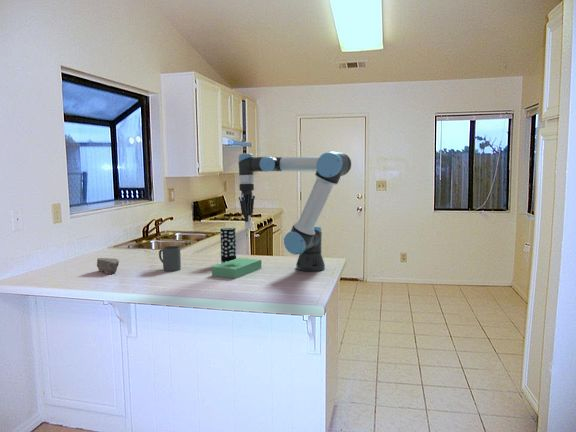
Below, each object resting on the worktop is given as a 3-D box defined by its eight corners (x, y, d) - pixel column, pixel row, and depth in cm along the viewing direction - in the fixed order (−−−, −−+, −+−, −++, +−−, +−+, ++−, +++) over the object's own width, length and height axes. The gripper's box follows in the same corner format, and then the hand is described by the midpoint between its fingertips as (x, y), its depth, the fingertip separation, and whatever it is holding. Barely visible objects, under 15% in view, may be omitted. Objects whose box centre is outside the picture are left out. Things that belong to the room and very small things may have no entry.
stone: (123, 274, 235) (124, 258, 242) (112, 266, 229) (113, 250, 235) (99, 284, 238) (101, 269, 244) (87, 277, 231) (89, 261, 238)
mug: (184, 268, 245) (183, 246, 244) (172, 272, 237) (171, 249, 236) (165, 266, 252) (165, 244, 251) (153, 269, 244) (152, 247, 243)
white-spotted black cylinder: (233, 266, 251) (232, 229, 249) (219, 265, 253) (218, 229, 251) (238, 262, 259) (237, 227, 257) (224, 262, 261) (223, 227, 259)
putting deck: (261, 268, 245) (261, 259, 244) (235, 278, 223) (235, 269, 222) (239, 266, 251) (239, 257, 251) (212, 275, 229) (211, 266, 228)
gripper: (246, 182, 248) (248, 226, 251) (233, 183, 237) (235, 229, 239) (258, 182, 245) (260, 226, 247) (246, 183, 234) (247, 229, 236)
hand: (247, 227), depth 243 cm, fingers closed
